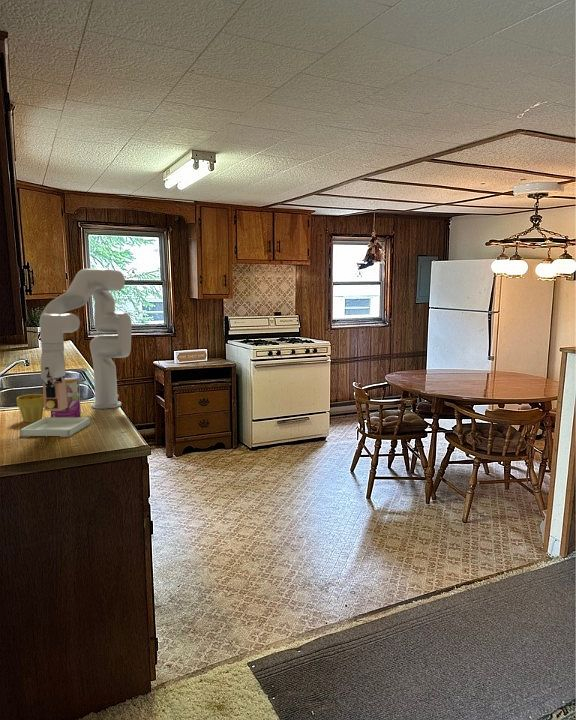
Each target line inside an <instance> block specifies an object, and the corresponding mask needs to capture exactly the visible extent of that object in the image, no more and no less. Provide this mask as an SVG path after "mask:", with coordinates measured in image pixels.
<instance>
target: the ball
mask: <svg viewBox="0 0 576 720" xmlns="http://www.w3.org/2000/svg"><path fill="white" fill-rule="evenodd" d="M46 406H47V407H48V408H53V407H54V406H55V402H54V401H52V400H49V401H48V402H47V403H46Z"/></svg>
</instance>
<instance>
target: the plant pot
mask: <svg viewBox="0 0 576 720" xmlns="http://www.w3.org/2000/svg"><path fill="white" fill-rule="evenodd" d="M16 405H17V407H18V408H19V411H20V414H21V417H22V421H23V422H25V423H35V422H37V421H39V420H41V419H43V415H44V414H43V413H44V398H43V394H40V393H35V394H34V393H33V394H32V393H31V394H23V395H20V396H17V397H16Z"/></svg>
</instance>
